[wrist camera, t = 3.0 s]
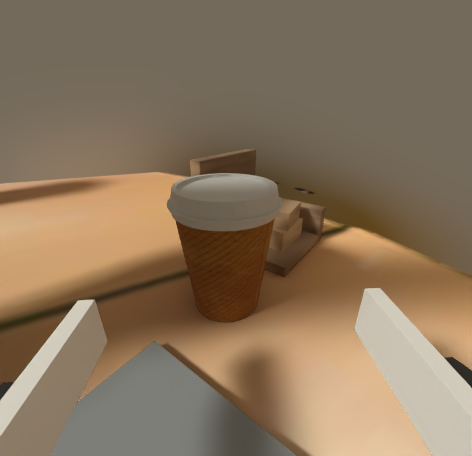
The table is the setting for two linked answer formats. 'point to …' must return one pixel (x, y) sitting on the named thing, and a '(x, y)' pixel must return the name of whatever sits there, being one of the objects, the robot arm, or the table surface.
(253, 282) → the disposable coffee cup
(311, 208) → the offcut rack
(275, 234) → the offcut stack
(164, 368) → the slate mat
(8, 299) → the table surface
